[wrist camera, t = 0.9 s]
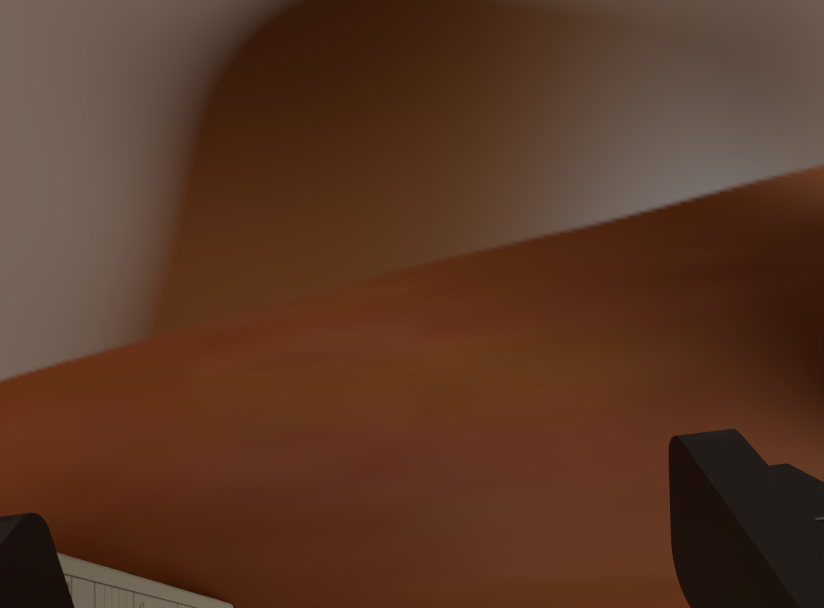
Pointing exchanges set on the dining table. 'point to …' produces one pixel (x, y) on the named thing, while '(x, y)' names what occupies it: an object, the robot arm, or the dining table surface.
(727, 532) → the robot arm
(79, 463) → the dining table surface
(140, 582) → the skincare box
